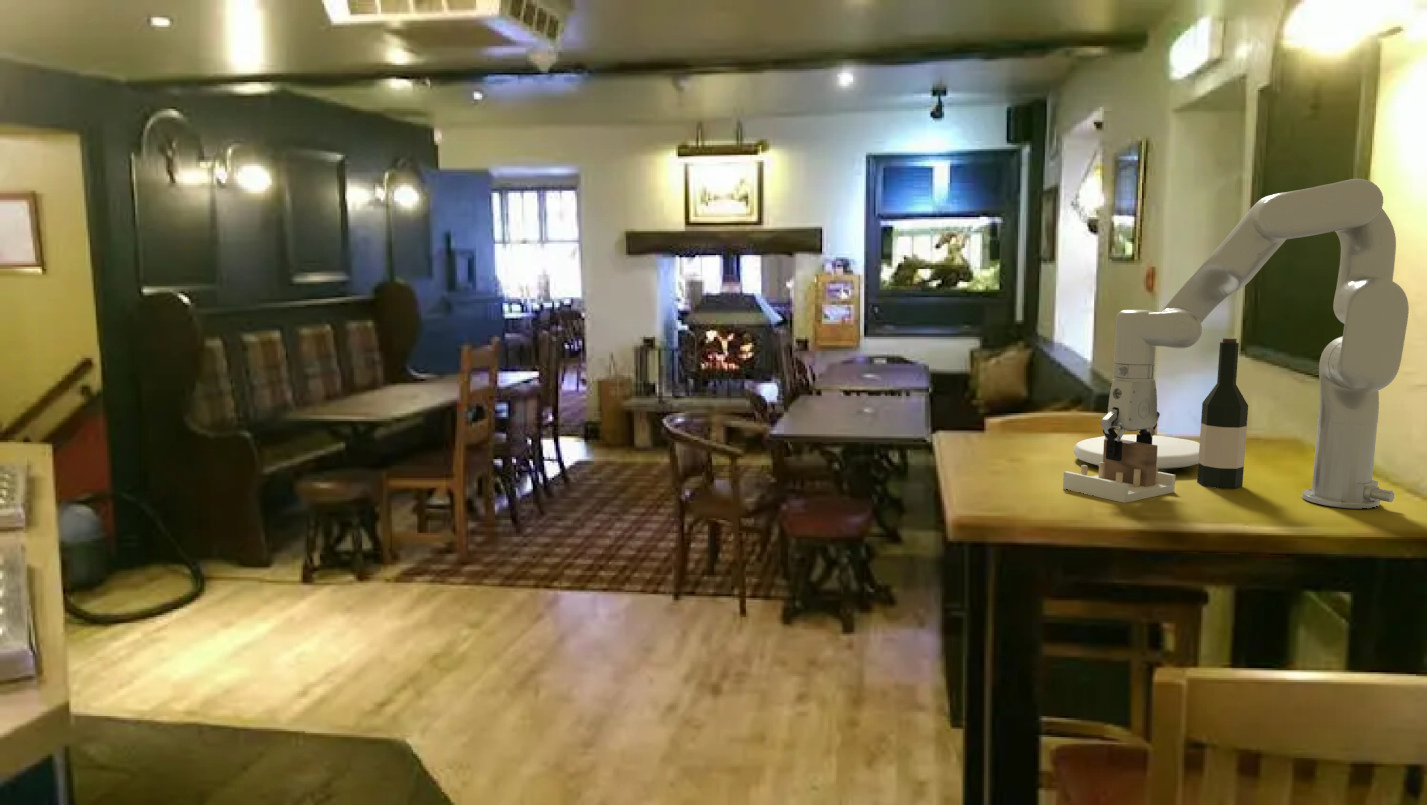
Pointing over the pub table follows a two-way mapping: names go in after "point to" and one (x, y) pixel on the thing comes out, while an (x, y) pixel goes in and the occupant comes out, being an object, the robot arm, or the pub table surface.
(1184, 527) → the pub table surface
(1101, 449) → the plate
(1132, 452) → the walnut board
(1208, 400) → the wine bottle
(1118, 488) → the rack
